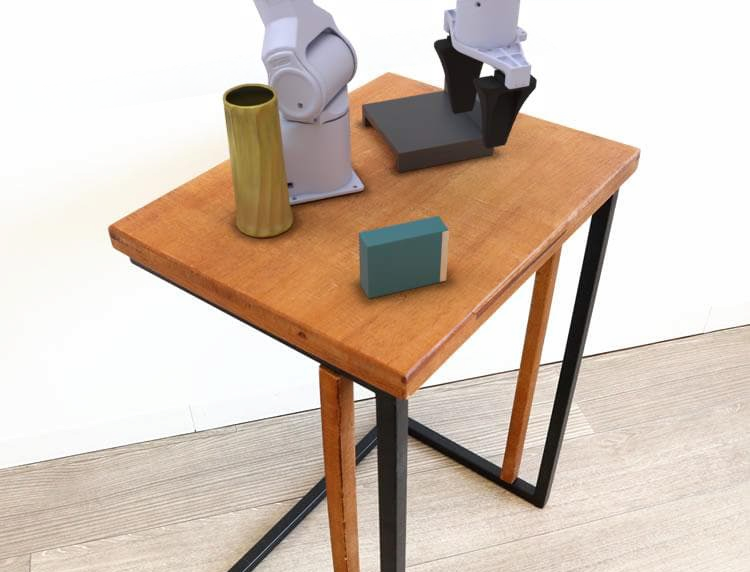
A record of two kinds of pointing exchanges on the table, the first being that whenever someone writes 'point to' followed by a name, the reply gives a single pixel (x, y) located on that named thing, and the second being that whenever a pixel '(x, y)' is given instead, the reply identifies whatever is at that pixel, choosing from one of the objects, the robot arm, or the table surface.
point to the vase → (257, 160)
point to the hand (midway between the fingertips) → (477, 127)
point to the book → (403, 256)
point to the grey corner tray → (427, 130)
